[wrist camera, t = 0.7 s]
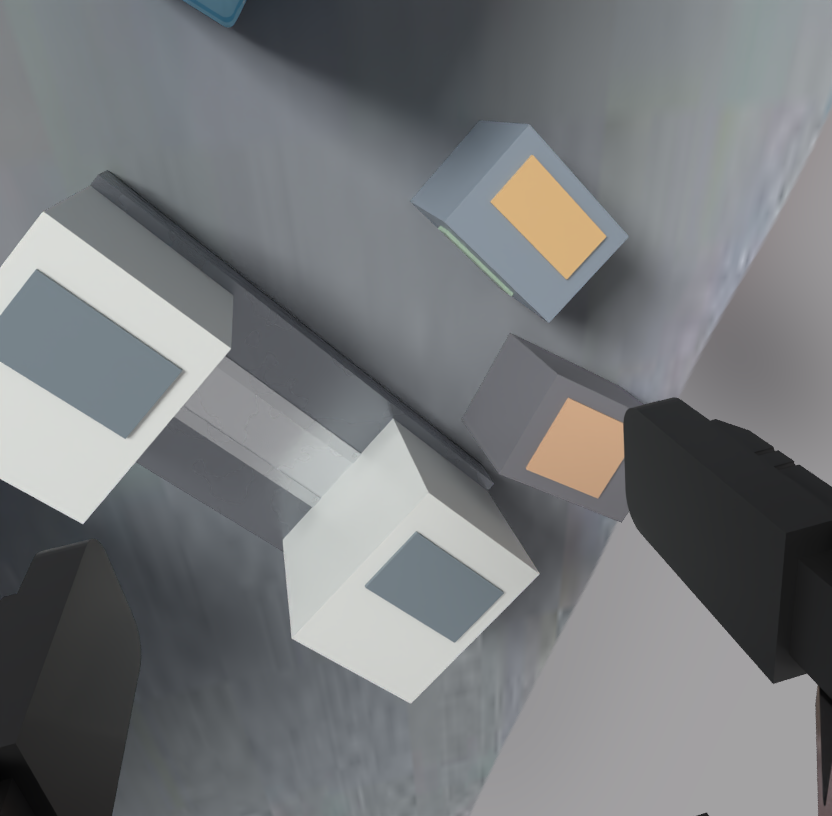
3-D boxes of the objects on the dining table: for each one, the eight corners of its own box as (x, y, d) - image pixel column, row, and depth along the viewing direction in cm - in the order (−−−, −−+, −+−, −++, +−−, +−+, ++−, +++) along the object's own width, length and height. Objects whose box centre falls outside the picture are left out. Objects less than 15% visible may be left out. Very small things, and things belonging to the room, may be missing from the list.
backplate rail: (107, 170, 28) (97, 175, 26) (482, 465, 37) (494, 484, 36) (-24, 339, 30) (-42, 355, 28) (369, 584, 39) (375, 609, 37)
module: (479, 120, 31) (530, 124, 25) (566, 214, 33) (631, 237, 28) (407, 203, 31) (442, 225, 26) (498, 290, 34) (547, 326, 28)
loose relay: (509, 332, 35) (559, 375, 29) (617, 384, 37) (682, 433, 32) (460, 418, 36) (499, 475, 31) (569, 464, 39) (623, 524, 33)
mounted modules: (90, 185, 27) (41, 212, 20) (487, 490, 36) (541, 576, 29) (-36, 348, 28) (-119, 422, 21) (380, 603, 37) (409, 708, 30)
